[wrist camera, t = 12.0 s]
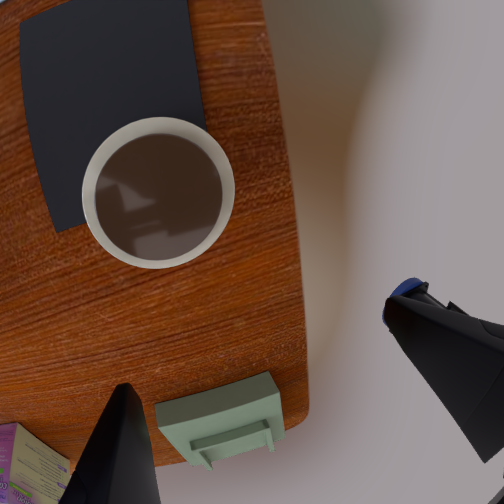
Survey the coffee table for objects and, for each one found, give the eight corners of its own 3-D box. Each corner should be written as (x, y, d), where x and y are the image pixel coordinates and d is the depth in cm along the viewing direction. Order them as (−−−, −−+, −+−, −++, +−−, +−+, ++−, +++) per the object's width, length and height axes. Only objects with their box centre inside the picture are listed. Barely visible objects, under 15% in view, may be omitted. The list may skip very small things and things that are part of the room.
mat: (183, -25, 11) (183, -26, 11) (215, 185, 18) (216, 186, 18) (21, 24, 9) (19, 23, 9) (57, 231, 16) (56, 232, 16)
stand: (268, 370, 27) (285, 401, 24) (276, 420, 33) (289, 445, 29) (154, 403, 25) (159, 438, 21) (187, 447, 30) (194, 474, 26)
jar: (195, 111, 16) (225, 101, 9) (212, 203, 18) (249, 252, 12) (98, 136, 14) (60, 144, 8) (122, 228, 17) (108, 291, 11)
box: (-6, 424, 19) (-17, 499, 9) (17, 420, 20) (8, 505, 10) (45, 462, 25) (46, 529, 14) (70, 459, 25) (74, 532, 15)
